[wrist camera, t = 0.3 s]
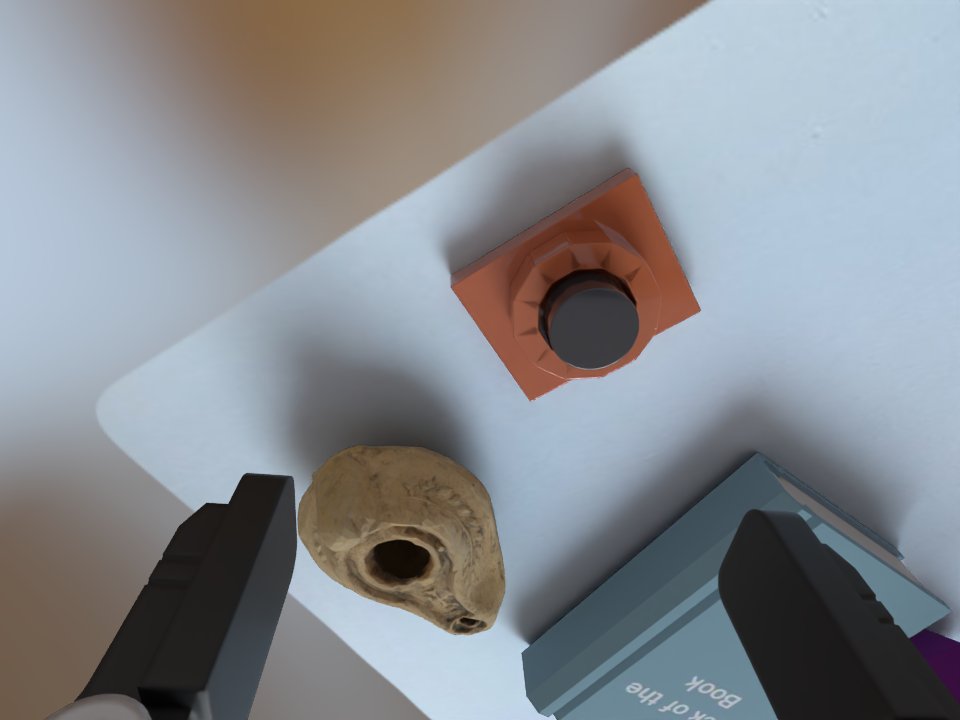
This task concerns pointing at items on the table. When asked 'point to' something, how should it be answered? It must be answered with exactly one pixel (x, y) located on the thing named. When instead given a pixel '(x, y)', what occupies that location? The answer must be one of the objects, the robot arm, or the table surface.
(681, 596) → the book
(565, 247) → the button base
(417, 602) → the oil lamp
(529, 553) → the table surface
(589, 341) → the dark grey knob
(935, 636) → the perfume bottle
